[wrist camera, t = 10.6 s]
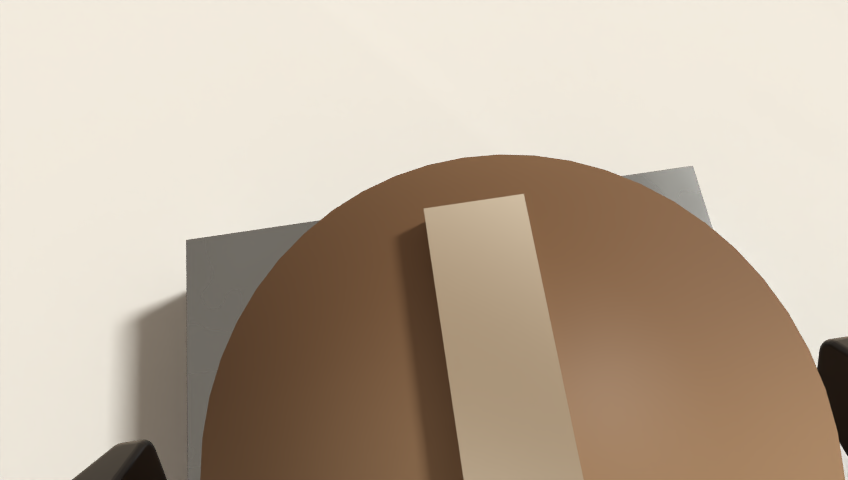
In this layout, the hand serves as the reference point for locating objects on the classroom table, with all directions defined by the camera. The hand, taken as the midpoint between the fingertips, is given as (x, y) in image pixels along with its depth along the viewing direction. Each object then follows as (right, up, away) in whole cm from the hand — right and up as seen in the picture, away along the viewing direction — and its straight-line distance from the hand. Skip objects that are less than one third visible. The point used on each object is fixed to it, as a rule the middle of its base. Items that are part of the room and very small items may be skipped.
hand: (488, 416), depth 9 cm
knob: (+1, -4, +9) cm, 10 cm away
